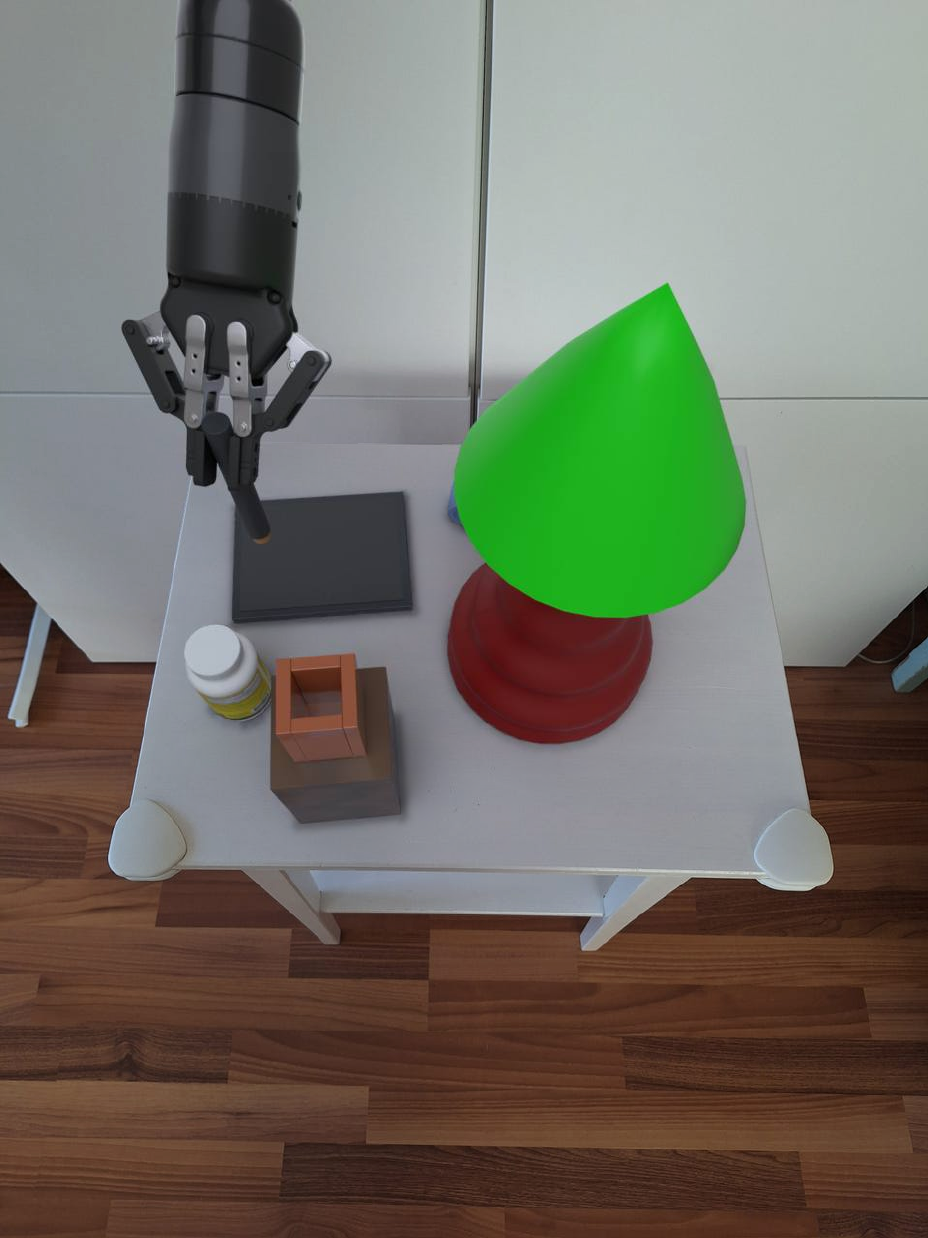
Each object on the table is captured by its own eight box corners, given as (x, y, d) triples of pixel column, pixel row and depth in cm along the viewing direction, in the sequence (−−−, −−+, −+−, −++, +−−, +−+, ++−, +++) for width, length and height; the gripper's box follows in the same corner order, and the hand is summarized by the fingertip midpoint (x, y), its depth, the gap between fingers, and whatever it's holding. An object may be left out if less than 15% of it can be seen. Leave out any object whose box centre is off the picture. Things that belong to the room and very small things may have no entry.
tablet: (233, 623, 77) (231, 619, 76) (237, 506, 83) (235, 501, 82) (412, 610, 78) (411, 605, 77) (403, 496, 84) (403, 490, 83)
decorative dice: (454, 493, 85) (455, 471, 81) (490, 499, 84) (492, 478, 81) (447, 523, 83) (447, 502, 79) (483, 529, 83) (485, 509, 79)
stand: (300, 824, 69) (269, 789, 56) (299, 728, 73) (270, 675, 60) (400, 814, 70) (392, 778, 57) (394, 720, 73) (385, 666, 61)
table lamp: (439, 569, 80) (443, 152, 40) (624, 558, 82) (810, 142, 41) (455, 753, 72) (480, 464, 31) (660, 737, 74) (940, 439, 33)
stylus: (250, 547, 61) (200, 434, 48) (250, 527, 62) (202, 412, 49) (272, 545, 61) (229, 433, 48) (273, 526, 62) (230, 410, 49)
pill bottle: (213, 663, 75) (180, 615, 65) (277, 663, 75) (253, 615, 65) (205, 724, 73) (168, 683, 63) (271, 724, 73) (245, 683, 63)
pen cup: (294, 763, 57) (275, 734, 50) (294, 695, 59) (275, 658, 53) (367, 757, 58) (357, 727, 51) (363, 689, 60) (354, 652, 53)
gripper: (88, 169, 43) (92, 478, 48) (329, 207, 42) (303, 516, 48) (154, 195, 50) (151, 462, 56) (361, 228, 49) (335, 495, 55)
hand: (222, 486), depth 52 cm, fingers closed on stylus, 2 cm apart
